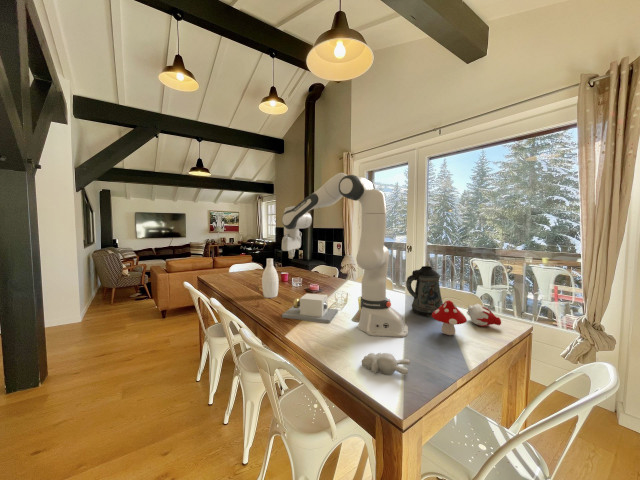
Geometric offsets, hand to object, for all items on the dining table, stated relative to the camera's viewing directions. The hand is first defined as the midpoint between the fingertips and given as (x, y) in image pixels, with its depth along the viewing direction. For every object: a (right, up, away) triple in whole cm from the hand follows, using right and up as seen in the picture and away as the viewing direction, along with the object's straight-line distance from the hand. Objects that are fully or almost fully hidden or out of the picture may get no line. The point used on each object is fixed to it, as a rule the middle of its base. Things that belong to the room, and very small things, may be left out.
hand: (291, 257), depth 151 cm
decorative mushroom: (+73, -31, -40) cm, 89 cm away
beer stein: (+74, -30, -14) cm, 81 cm away
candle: (+94, -30, -30) cm, 103 cm away
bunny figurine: (+38, -34, -67) cm, 84 cm away
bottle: (-17, -28, +20) cm, 39 cm away
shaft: (+12, -27, -15) cm, 33 cm away
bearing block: (+12, -30, -15) cm, 36 cm away
